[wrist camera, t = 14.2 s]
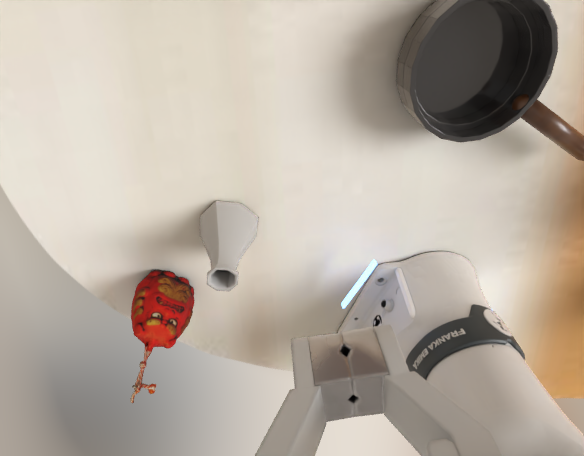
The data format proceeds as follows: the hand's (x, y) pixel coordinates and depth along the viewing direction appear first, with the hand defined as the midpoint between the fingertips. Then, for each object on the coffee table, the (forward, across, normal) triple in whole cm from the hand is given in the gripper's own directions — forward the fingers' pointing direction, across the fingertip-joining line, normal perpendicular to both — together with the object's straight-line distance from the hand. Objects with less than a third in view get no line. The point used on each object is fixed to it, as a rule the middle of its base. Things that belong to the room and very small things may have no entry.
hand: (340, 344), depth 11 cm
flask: (+31, -9, -15) cm, 36 cm away
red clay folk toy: (+31, -19, -23) cm, 43 cm away
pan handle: (+29, +27, -7) cm, 40 cm away
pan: (+31, +18, 0) cm, 36 cm away
